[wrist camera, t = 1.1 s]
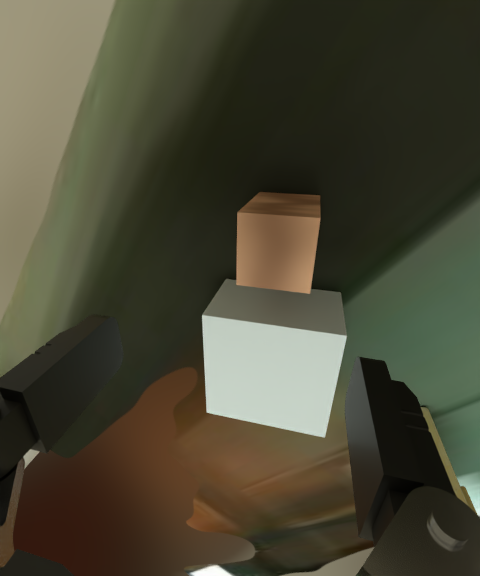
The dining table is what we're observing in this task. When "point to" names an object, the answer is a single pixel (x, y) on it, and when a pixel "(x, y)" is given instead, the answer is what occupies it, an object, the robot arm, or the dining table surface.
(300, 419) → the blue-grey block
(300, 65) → the dining table surface
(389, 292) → the dining table surface
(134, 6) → the dining table surface
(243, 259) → the terracotta block
